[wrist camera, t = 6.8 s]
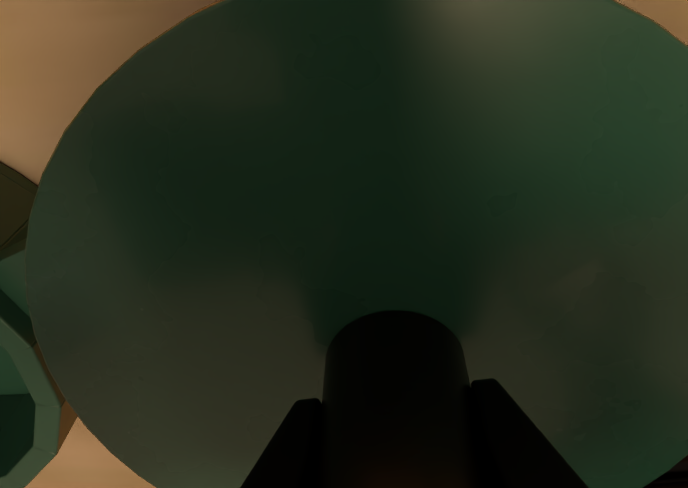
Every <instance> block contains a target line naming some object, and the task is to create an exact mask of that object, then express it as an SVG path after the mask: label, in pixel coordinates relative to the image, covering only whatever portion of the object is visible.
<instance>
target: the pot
mask: <svg viewBox="0 0 688 488" xmlns="http://www.w3.org/2000/svg"><path fill="white" fill-rule="evenodd" d="M37 190H38V187H37V186H36V185H34V184H33V183H32V182H30V181H29V180H27V179H26V178H25V177H23V176H22V175H20V174H19V173H17V172H16V171H14V170H12V169H10V168H9V167H7V166H5V165H4V164H2V163H0V488H24V487H25V486H27V485H28V484H29V483H30V482H31V481H32V480H33V479H34V478H35V476H36V475H37V474H38V473H39V472H40V471H41V470H42V469H43V468H44V467H45V466H46V465H47V464H48V463H49V462H50V461H51V460H52V459H53V458H54V457H55V456H56V455H57V453H58V451H59V449H60V448H61V446H62V444H63V442H64V440H65V438H66V437H67V435H68V433H69V431H70V429H71V427H72V426H73V424H74V422H75V420H76V418H77V414H76V413H75V412H74V410H73V409H72V408H71V406H70V405H69V404H68V402H67V401H66V400H65V398H64V396H63V394H62V393H61V391H60V389H59V387H58V386H57V384H56V382H55V380H54V379H53V377H52V375H51V373H50V372H49V370H48V368H47V365H46V363H45V360H44V358H43V355H42V353H41V350H40V348H39V345H38V343H37V340H36V337H35V335H34V330H33V326H32V321H31V317H30V313H29V308H28V304H27V299H26V283H25V265H24V256H25V248H26V240H27V231H28V223H29V216H30V212H31V209H32V206H33V203H34V199H35V196H36V193H37Z"/></svg>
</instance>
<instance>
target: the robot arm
mask: <svg viewBox="0 0 688 488" xmlns="http://www.w3.org/2000/svg"><path fill="white" fill-rule="evenodd" d="M471 391H472V396H473V400H474V405H475V410H476V414H477V419H478V424H479V428H480V433H481V438H482V442H483V447H484V451H485V456H486V460H487V464H488V468H489V473H490V477H491V482H492V487H493V488H589V487H588V486H587V485H586V484H585V483H584V481H583V480H582V479H581V478H580V477H579V476H578V474H577V473H576V472H575V471H574V470H573V469H572V467H571V466H570V465H569V464H568V463H567V462H566V460H565V459H564V458H563V457H562V456H561V454H560V453H559V452H558V451H557V450H556V449H555V447H554V446H553V445H552V444H551V443H550V442H549V440H548V439H547V438H546V437H545V436H544V435H543V433H542V432H541V431H540V430H539V429H538V428H537V426H536V425H535V424H534V423H533V422H532V421H531V419H530V418H529V417H528V416H527V415H526V413H525V412H524V411H523V410H522V409H521V408H520V406H519V405H518V404H517V403H516V402H515V401H514V399H513V398H512V397H511V396H510V395H509V394H508V392H507V391H506V390H505V389H504V388H503V387H502V385H501V384H500V383H499V382H498V381H497V380H496V379H494V378H488V379H479V380H474V381H472V383H471ZM321 406H322V404H321V401H320V400H319V399H318V398H309V399H301V400H297V401H296V402H295V403H294V404H293V406H292V407H291V409H290V411H289V412H288V414H287V415H286V417H285V418H284V420H283V421H282V423H281V425H280V426H279V428H278V429H277V431H276V432H275V434H274V436H273V437H272V439H271V440H270V442H269V443H268V445H267V446H266V448H265V450H264V451H263V453H262V454H261V456H260V457H259V459H258V461H257V462H256V464H255V465H254V467H253V468H252V470H251V471H250V473H249V475H248V476H247V478H246V479H245V481H244V482H243V484H242V486H241V487H240V488H315V477H316V465H317V453H318V442H319V430H320V418H321ZM643 488H688V455H687V456H686V457H685V458H683V459H682V460H681V461H680V462H679V463H677V464H676V465H675V466H674V467H672V468H671V469H670V470H669V471H667V472H666V473H664V474H663V475H661V476H660V477H658V478H657V479H655V480H654V481H652V482H651V483H649V484H648V485H646V486H645V487H643Z"/></svg>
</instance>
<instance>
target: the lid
mask: <svg viewBox="0 0 688 488" xmlns="http://www.w3.org/2000/svg"><path fill="white" fill-rule="evenodd" d="M24 265H25V283H26V299H27V304H28V308H29V313H30V317H31V321H32V326H33V330H34V335H35V337H36V340H37V343H38V345H39V348H40V350H41V353H42V355H43V358H44V360H45V363H46V365H47V368H48V370H49V372H50V373H51V375H52V377H53V379H54V380H55V382H56V384H57V386H58V387H59V389H60V391H61V393H62V394H63V396H64V398H65V400H66V401H67V402H68V404H69V405H70V406H71V408H72V409H73V410H74V412H75V413H76V414H77V416H78V417H79V418H80V420H81V421H82V422H83V423H84V425H85V426H86V427H87V429H88V430H89V431H90V432H91V433H92V434H93V435H94V436H95V437H96V438H97V439H98V440H99V441H100V442H101V443H102V444H103V445H104V446H105V447H106V448H107V449H108V450H109V451H110V452H111V453H112V454H113V455H114V456H115V457H117V458H118V459H119V460H120V461H121V462H123V463H124V464H125V465H126V466H127V467H129V468H130V469H131V470H132V471H133V472H135V473H136V474H137V475H138V476H140V477H141V478H143V479H144V480H146V481H147V482H149V483H150V484H152V485H153V486H155V487H156V488H240V487H241V486H242V484H243V482H244V481H245V479H246V478H247V476H248V475H249V473H250V471H251V470H252V468H253V467H254V465H255V464H256V462H257V461H258V459H259V457H260V456H261V454H262V453H263V451H264V450H265V448H266V446H267V445H268V443H269V442H270V440H271V439H272V437H273V436H274V434H275V432H276V431H277V429H278V428H279V426H280V425H281V423H282V421H283V420H284V418H285V417H286V415H287V414H288V412H289V411H290V409H291V407H292V406H293V404H294V403H295V402H296V401H297V400H301V399H309V398H318V399H319V400H320V401H321V404H322V406H321V418H320V430H319V442H318V453H317V465H316V477H315V488H493V487H492V482H491V477H490V473H489V468H488V464H487V460H486V456H485V451H484V447H483V442H482V438H481V433H480V428H479V424H478V419H477V414H476V410H475V405H474V400H473V396H472V391H471V383H472V381H474V380H479V379H488V378H494V379H496V380H497V381H498V382H499V383H500V384H501V385H502V387H503V388H504V389H505V390H506V391H507V392H508V394H509V395H510V396H511V397H512V398H513V399H514V401H515V402H516V403H517V404H518V405H519V406H520V408H521V409H522V410H523V411H524V412H525V413H526V415H527V416H528V417H529V418H530V419H531V421H532V422H533V423H534V424H535V425H536V426H537V428H538V429H539V430H540V431H541V432H542V433H543V435H544V436H545V437H546V438H547V439H548V440H549V442H550V443H551V444H552V445H553V446H554V447H555V449H556V450H557V451H558V452H559V453H560V454H561V456H562V457H563V458H564V459H565V460H566V462H567V463H568V464H569V465H570V466H571V467H572V469H573V470H574V471H575V472H576V473H577V474H578V476H579V477H580V478H581V479H582V480H583V481H584V483H585V484H586V485H587V486H588V487H589V488H643V487H645V486H646V485H648V484H649V483H651V482H652V481H654V480H655V479H657V478H658V477H660V476H661V475H663V474H664V473H666V472H667V471H669V470H670V469H671V468H672V467H674V466H675V465H676V464H677V463H679V462H680V461H681V460H682V459H683V458H685V457H686V456H687V455H688V46H687V45H686V44H684V43H683V42H682V41H680V40H679V39H678V38H676V37H675V36H674V35H672V34H671V33H670V32H668V31H667V30H666V29H664V28H663V27H662V26H660V25H659V24H658V23H656V22H655V21H654V20H652V19H650V18H648V17H646V16H644V15H642V14H640V13H638V12H636V11H634V10H632V9H630V8H628V7H626V6H624V5H622V4H620V3H618V2H616V1H614V0H218V1H216V2H214V3H212V4H210V5H208V6H205V7H203V8H201V9H199V10H197V11H195V12H194V13H192V14H191V15H189V16H188V17H186V18H185V19H183V20H182V21H180V22H179V23H177V24H176V25H174V26H173V27H171V28H170V29H168V30H167V31H165V32H164V33H162V34H161V35H159V36H158V37H156V38H155V39H153V40H152V41H150V42H149V43H147V44H146V45H145V46H143V47H142V48H140V49H139V50H137V51H136V52H135V53H134V54H133V55H132V56H131V57H130V58H129V59H128V60H127V61H126V62H125V63H124V64H122V65H121V66H120V67H119V68H118V69H117V70H116V71H115V72H114V73H113V74H112V75H111V76H110V77H109V78H107V79H106V80H105V81H104V82H103V83H102V84H101V85H100V86H99V87H98V88H97V89H96V90H95V91H94V93H93V94H92V95H91V97H90V98H89V99H88V100H87V102H86V103H85V104H84V106H83V107H82V108H81V110H80V111H79V112H78V114H77V115H76V116H75V118H74V119H73V120H72V121H71V123H70V124H69V125H68V127H67V128H66V129H65V131H64V133H63V135H62V137H61V138H60V140H59V142H58V144H57V146H56V148H55V150H54V152H53V154H52V156H51V158H50V160H49V162H48V164H47V166H46V167H45V169H44V171H43V173H42V177H41V180H40V183H39V186H38V190H37V193H36V196H35V199H34V203H33V206H32V209H31V212H30V216H29V223H28V231H27V240H26V248H25V256H24Z"/></svg>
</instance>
